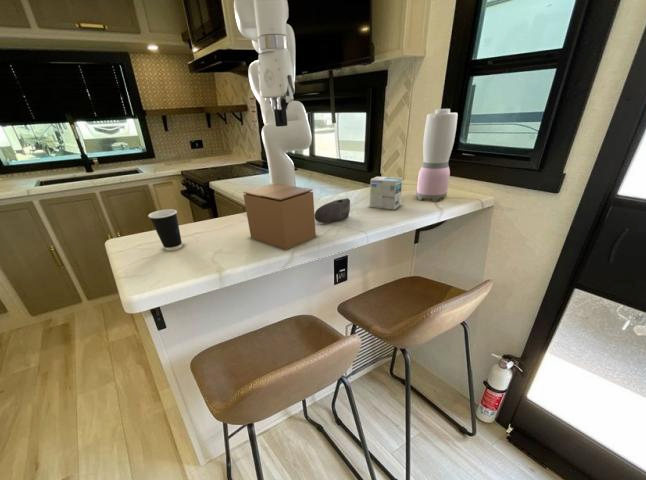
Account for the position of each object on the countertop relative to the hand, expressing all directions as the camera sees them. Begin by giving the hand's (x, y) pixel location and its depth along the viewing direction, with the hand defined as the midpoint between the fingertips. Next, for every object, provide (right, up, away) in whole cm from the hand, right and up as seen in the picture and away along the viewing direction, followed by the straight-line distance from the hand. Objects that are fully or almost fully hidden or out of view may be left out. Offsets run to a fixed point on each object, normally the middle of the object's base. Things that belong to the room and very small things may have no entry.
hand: (281, 126), depth 91 cm
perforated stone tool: (+16, -23, +21) cm, 35 cm away
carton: (-1, -31, +9) cm, 32 cm away
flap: (-5, -18, +4) cm, 19 cm away
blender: (+59, -7, +42) cm, 73 cm away
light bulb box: (+37, -14, +33) cm, 52 cm away
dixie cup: (-35, -35, +7) cm, 50 cm away
